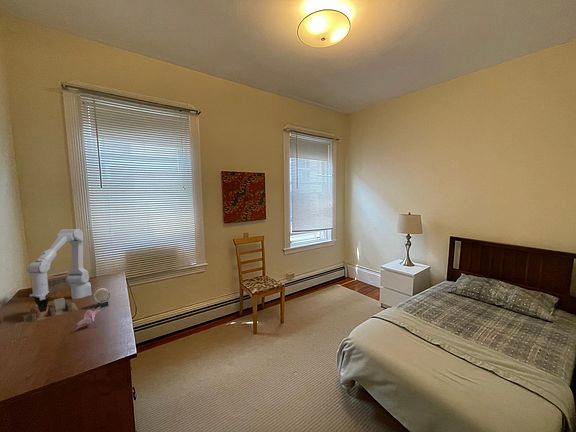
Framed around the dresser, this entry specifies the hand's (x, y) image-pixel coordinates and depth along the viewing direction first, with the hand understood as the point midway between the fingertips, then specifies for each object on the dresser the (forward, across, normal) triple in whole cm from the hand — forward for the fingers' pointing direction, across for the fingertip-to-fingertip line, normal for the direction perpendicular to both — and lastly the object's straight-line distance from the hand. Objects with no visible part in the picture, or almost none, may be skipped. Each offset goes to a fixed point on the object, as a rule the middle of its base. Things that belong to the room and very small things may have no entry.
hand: (42, 309), depth 125 cm
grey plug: (+3, 0, +7) cm, 7 cm away
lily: (+4, +33, +14) cm, 36 cm away
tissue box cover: (+4, -48, +12) cm, 50 cm away
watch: (+4, +12, +23) cm, 27 cm away
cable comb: (+4, 0, +3) cm, 5 cm away
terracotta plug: (+3, 0, 0) cm, 3 cm away
